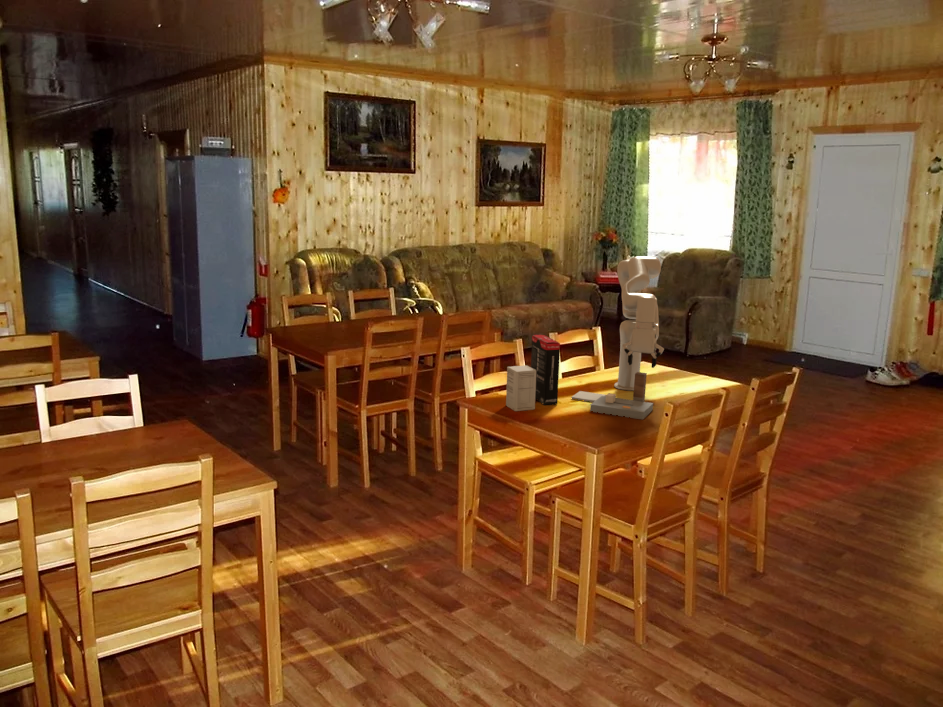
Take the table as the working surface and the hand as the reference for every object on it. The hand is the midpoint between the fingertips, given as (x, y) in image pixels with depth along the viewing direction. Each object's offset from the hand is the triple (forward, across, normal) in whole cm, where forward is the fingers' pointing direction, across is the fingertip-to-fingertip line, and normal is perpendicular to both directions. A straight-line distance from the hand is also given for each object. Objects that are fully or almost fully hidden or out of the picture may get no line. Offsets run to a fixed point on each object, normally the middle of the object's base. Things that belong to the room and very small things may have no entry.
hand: (641, 365), depth 337 cm
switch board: (+18, +4, +11) cm, 21 cm away
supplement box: (+18, +42, +29) cm, 54 cm away
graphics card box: (+18, +38, +13) cm, 44 cm away
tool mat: (+17, +22, -1) cm, 28 cm away
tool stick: (+17, 0, -1) cm, 17 cm away
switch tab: (+14, +9, +11) cm, 20 cm away
